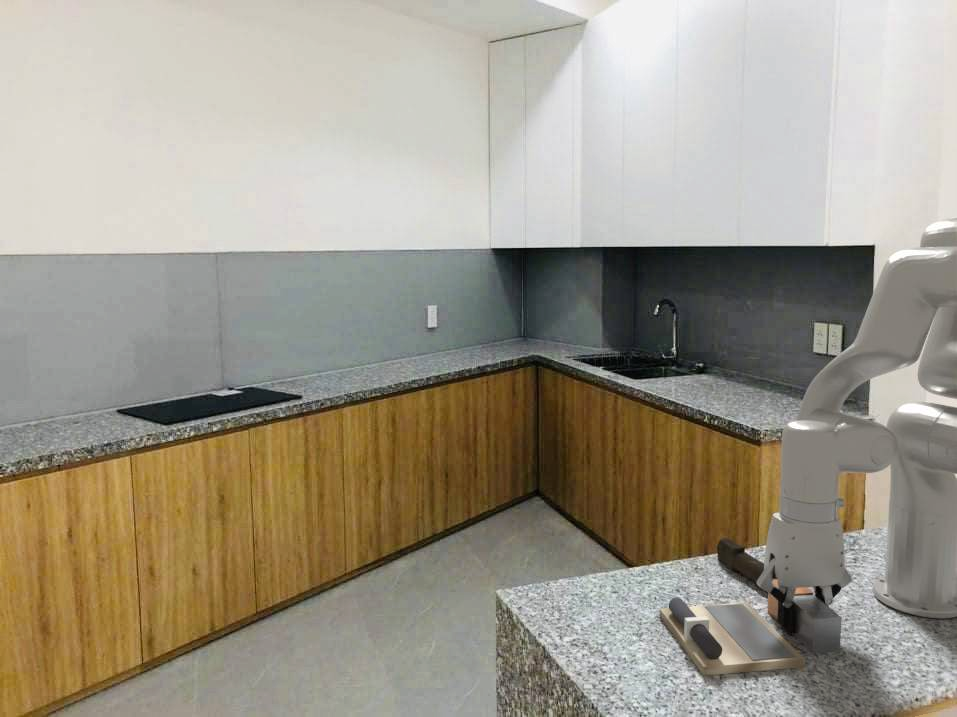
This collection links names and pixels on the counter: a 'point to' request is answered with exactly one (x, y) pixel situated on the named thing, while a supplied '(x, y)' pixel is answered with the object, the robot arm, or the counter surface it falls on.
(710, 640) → the rod
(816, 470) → the robot arm
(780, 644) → the board
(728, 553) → the hand tool
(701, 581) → the counter surface
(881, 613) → the counter surface
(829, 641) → the grey and copper block
